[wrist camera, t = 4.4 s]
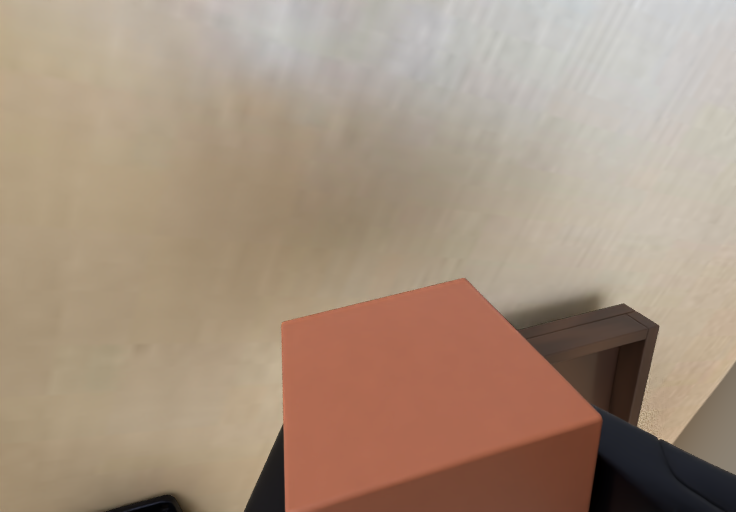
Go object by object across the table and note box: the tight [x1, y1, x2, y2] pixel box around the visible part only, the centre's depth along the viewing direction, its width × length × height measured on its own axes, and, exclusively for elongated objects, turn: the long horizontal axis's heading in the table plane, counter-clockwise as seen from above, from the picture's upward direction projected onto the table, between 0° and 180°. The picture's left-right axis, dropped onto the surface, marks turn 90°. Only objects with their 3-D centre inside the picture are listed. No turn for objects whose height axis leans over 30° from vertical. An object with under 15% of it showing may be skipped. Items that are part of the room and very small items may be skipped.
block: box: [281, 278, 603, 512], centre depth 8 cm, size 4×4×4 cm
